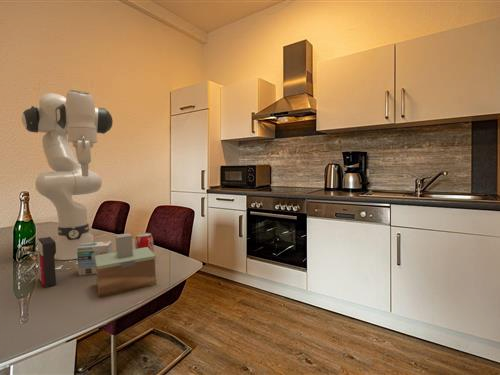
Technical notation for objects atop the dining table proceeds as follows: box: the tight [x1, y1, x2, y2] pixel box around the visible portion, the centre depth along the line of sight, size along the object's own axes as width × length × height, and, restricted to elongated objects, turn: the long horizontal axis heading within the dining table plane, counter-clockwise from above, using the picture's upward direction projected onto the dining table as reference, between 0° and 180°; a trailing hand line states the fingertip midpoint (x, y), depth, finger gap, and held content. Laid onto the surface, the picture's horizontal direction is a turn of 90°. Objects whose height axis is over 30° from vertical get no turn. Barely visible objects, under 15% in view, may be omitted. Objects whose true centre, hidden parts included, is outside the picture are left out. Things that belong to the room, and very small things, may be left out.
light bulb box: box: [77, 240, 113, 276], centre depth 105 cm, size 11×7×11 cm, turn 106°
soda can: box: [134, 232, 155, 254], centre depth 114 cm, size 7×7×12 cm
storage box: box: [95, 259, 157, 298], centre depth 93 cm, size 12×17×9 cm
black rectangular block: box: [36, 236, 57, 288], centre depth 95 cm, size 11×4×15 cm, turn 45°
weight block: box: [115, 232, 134, 258], centre depth 92 cm, size 4×4×7 cm
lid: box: [95, 247, 157, 270], centre depth 92 cm, size 13×17×2 cm
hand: (85, 176), depth 97 cm, fingers open, 8 cm apart
